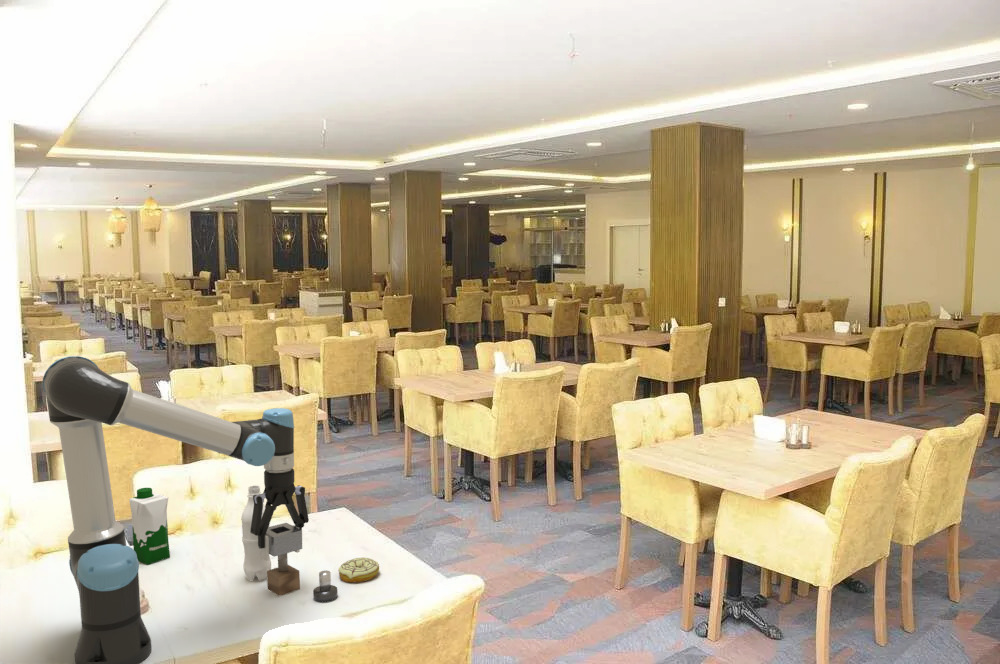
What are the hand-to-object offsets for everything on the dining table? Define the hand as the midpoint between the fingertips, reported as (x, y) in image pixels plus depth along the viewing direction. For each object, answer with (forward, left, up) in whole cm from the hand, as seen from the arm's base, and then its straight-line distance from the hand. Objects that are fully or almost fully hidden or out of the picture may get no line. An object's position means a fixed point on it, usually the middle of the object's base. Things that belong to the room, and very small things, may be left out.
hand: (280, 555), depth 209 cm
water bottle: (0, +12, -10) cm, 15 cm away
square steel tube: (0, 0, +2) cm, 2 cm away
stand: (+1, 0, -9) cm, 9 cm away
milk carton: (-15, +46, -10) cm, 49 cm away
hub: (+6, -12, -9) cm, 16 cm away
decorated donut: (+19, -7, -10) cm, 23 cm away
